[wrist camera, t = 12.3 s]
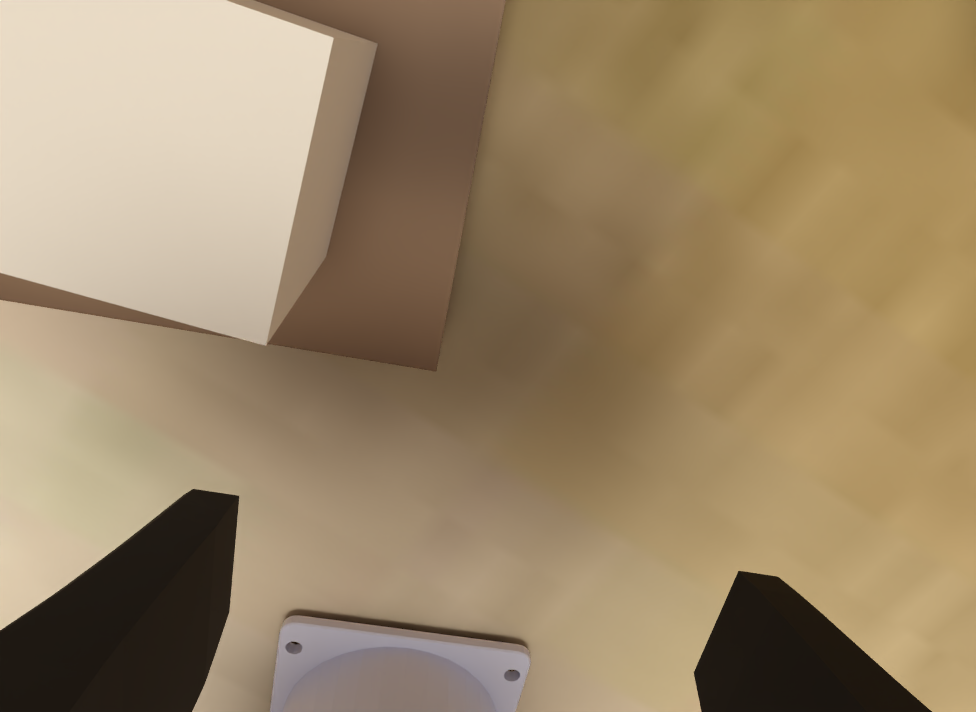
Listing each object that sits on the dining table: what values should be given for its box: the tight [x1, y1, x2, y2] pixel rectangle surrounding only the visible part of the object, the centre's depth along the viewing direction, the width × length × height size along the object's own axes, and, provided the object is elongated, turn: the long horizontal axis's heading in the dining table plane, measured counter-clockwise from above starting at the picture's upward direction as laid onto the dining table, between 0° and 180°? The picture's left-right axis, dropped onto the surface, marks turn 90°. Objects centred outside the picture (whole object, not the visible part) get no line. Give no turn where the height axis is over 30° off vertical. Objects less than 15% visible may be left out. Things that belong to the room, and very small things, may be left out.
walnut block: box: [0, 0, 506, 371], centre depth 15 cm, size 10×10×3 cm
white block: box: [0, 0, 378, 346], centre depth 12 cm, size 4×4×5 cm
